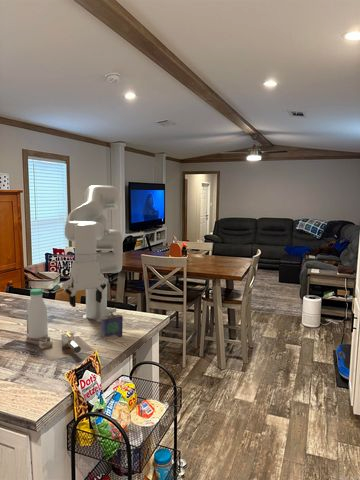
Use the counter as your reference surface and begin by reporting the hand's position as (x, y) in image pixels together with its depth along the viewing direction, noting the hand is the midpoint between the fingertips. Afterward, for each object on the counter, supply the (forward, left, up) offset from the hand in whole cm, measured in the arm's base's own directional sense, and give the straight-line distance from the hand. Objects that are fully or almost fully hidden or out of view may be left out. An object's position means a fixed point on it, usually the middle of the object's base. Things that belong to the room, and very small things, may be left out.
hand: (86, 303), depth 131 cm
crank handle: (+5, -1, -17) cm, 18 cm away
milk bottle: (+11, -23, -19) cm, 32 cm away
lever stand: (+6, -5, -19) cm, 20 cm away
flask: (-14, -7, -19) cm, 25 cm away
